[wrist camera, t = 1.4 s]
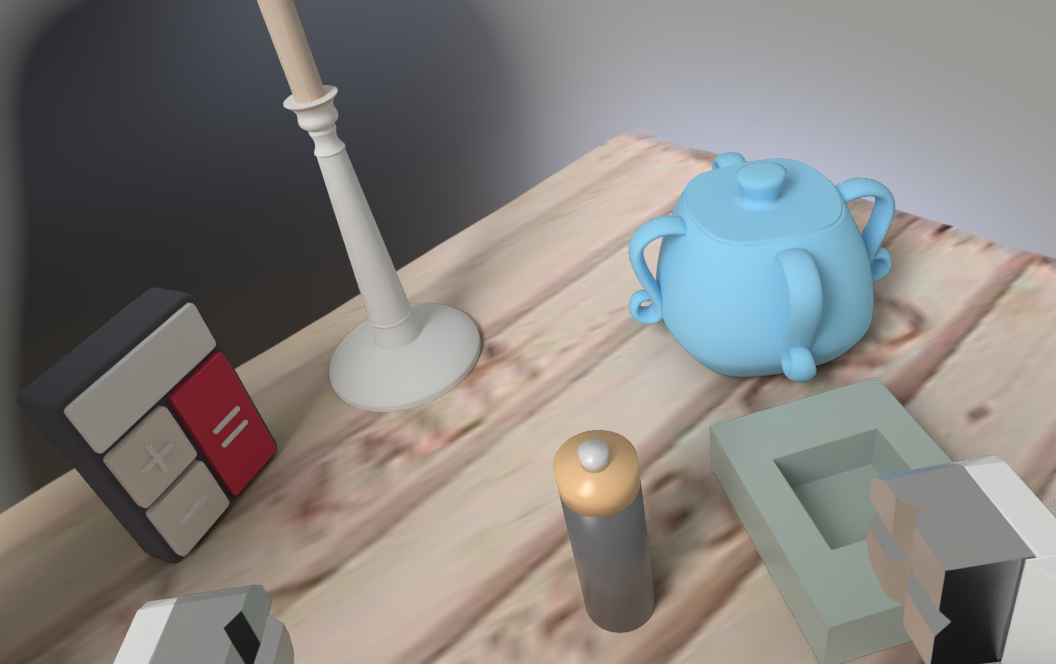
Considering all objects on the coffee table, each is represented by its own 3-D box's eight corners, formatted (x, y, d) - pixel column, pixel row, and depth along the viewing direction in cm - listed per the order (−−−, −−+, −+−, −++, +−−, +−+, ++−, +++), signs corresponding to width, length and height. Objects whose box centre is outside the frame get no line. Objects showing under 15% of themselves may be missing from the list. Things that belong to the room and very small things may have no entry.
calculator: (184, 570, 51) (58, 413, 42) (140, 552, 53) (10, 398, 43) (287, 449, 58) (199, 292, 49) (245, 437, 60) (153, 283, 51)
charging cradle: (823, 669, 39) (828, 627, 36) (711, 468, 50) (709, 426, 47) (1023, 605, 40) (1041, 561, 37) (869, 421, 50) (876, 376, 48)
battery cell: (596, 641, 42) (562, 494, 34) (577, 580, 45) (542, 432, 37) (665, 620, 42) (648, 469, 34) (641, 560, 45) (620, 409, 37)
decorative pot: (609, 342, 61) (588, 194, 53) (731, 244, 68) (729, 100, 60) (791, 437, 51) (801, 270, 42) (912, 310, 58) (942, 145, 49)
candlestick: (456, 292, 70) (352, -63, 51) (501, 374, 60) (394, -28, 42) (320, 341, 68) (161, -11, 49) (345, 435, 58) (158, 40, 39)
